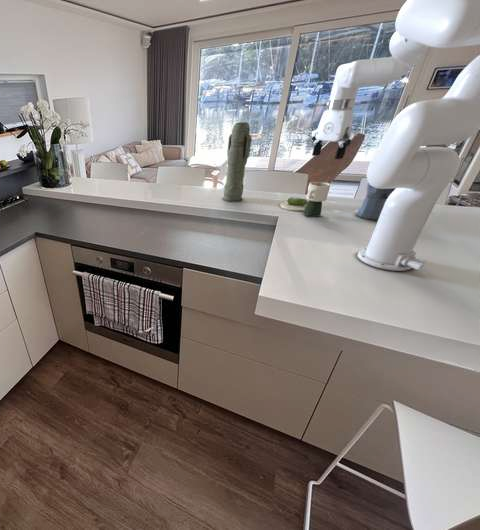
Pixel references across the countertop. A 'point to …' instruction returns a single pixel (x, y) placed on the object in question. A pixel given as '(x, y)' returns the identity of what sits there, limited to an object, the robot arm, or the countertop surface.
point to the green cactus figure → (237, 161)
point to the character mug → (316, 197)
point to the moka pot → (374, 202)
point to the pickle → (297, 201)
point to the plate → (292, 206)
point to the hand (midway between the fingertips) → (326, 156)
